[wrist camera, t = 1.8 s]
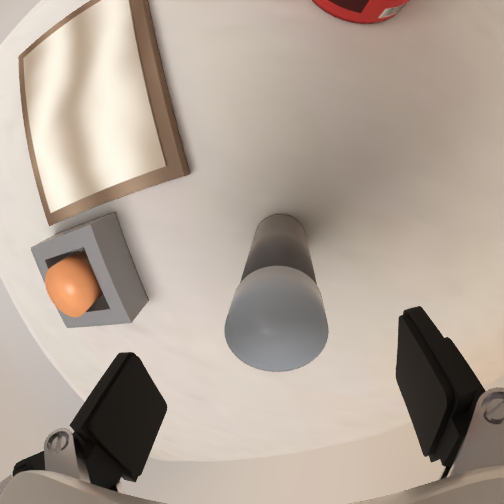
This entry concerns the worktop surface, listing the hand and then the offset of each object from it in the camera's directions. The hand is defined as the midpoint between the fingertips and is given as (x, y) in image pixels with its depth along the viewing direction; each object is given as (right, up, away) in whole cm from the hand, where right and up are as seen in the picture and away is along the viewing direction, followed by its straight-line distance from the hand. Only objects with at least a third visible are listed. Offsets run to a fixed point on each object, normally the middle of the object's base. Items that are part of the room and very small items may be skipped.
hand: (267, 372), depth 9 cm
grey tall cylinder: (+1, +5, +11) cm, 12 cm away
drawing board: (-14, +16, +9) cm, 23 cm away
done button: (-14, +2, +12) cm, 19 cm away
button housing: (-14, +3, +14) cm, 20 cm away
